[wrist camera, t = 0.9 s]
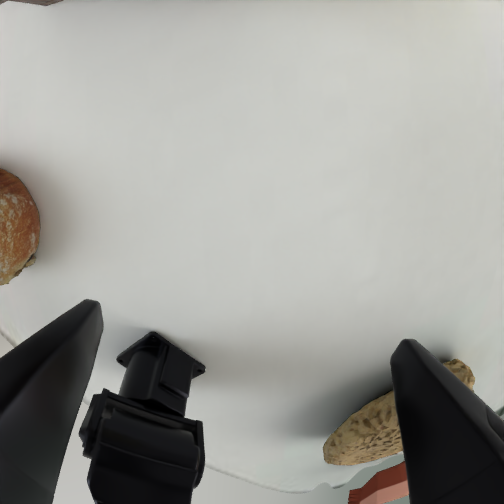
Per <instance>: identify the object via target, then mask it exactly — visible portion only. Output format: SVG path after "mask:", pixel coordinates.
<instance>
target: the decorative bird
mask: <svg viewBox="0 0 504 504" xmlns="http://www.w3.org/2000/svg"><path fill="white" fill-rule="evenodd" d="M407 495H409V490H408V482H407V474H406V467H405V461H403V462H402V463H400V464H398V465H396V466H393V467H390V468H388V469H385V470H382V471H379V472H377V473H376V474H375V475H374V476H373V477H372V478H371V479H370V480H369V481H368V482H367V483H366V484H365V485H364V486H363V487H362V488H359V489H354V490H350V494H349V498H348V500H349V502H348V504H382V503H386V502H389V501H392V500H395V499H398V498H401V497H404V496H407Z"/></svg>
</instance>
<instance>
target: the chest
mask: <svg viewBox="0 0 504 504" xmlns="http://www.w3.org/2000/svg"><path fill="white" fill-rule="evenodd" d="M8 1H16V2H23V3H30V4H36V5H42V6H47V5H50V4H53V3H56V2H59V1H63V0H8Z"/></svg>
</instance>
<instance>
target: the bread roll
mask: <svg viewBox="0 0 504 504" xmlns="http://www.w3.org/2000/svg"><path fill="white" fill-rule="evenodd" d="M39 233H40V220H39V213H38V210H37V207H36V205H35V203H34V201H33V199H32V197H31V195H30V194H29V192H28V190H27V189H26V187H25V186H24V185H23V183H22V182H21V181H20V180H19V178H18V177H16V176H14V175H13V174H11V173H8V172H7V171H5V170H3V169H0V285H4V284H9V282H10V280H11V279H13V278H14V277H16V276H18V275H19V274H20V272H22V269H24V267H28V266H31V265H33V264H34V263H35V261H36V258H35V256H34V255H35V252H36V250H37V247H38V243H39Z"/></svg>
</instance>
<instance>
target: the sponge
mask: <svg viewBox="0 0 504 504" xmlns="http://www.w3.org/2000/svg"><path fill="white" fill-rule="evenodd" d="M443 365H444V366H445V367H447V368H448V369H449V370H450V371H451V372H452V373H453V374H454V375H455V376H456V377H458V378H459V379H460V380H461V381H462V382H463V383H464V384H465V385H466V386H467V387H468V388H469V389H471V390H472V387H473V385H474V382H475V377H474V376H473V374H472V371H471V369H470V367H468V366H466V365H465V364H464V363H463V362H462V361H460V360H459V359H453V360H452V361H448V362H446V363H443ZM472 391H473V390H472ZM473 392H474V391H473ZM400 451H403V447H402V441H401V435H400V429H399V424H398V418H397V413H396V407H395V401H394V392H393V391H390V392H389V393H387V394H386V395H384V396H381V397H379V398H377V399H375V400H373V401H371V402H370V403H369V404H367V405H365V406H364V407H362V409H361V410H359V411H358V412H356V413H353V414H352V415H351V416H350V417H349V418H348V419H347V420H346V421H345V422H344V423H343V424H342V425H341V426H340V427H339V428H337V430H336V431H335V432H334V433H333V434H331V435H330V436H329V438H328V439H327V441H326V442H325V444H324V446H323V453H324V460H325V461H326V462H327V463H328V464H334V465H355V464H360V463H365V462H369V461H373V460H377V459H379V458H383V457H386V456H389V455H393V454H396V453H398V452H400Z"/></svg>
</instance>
